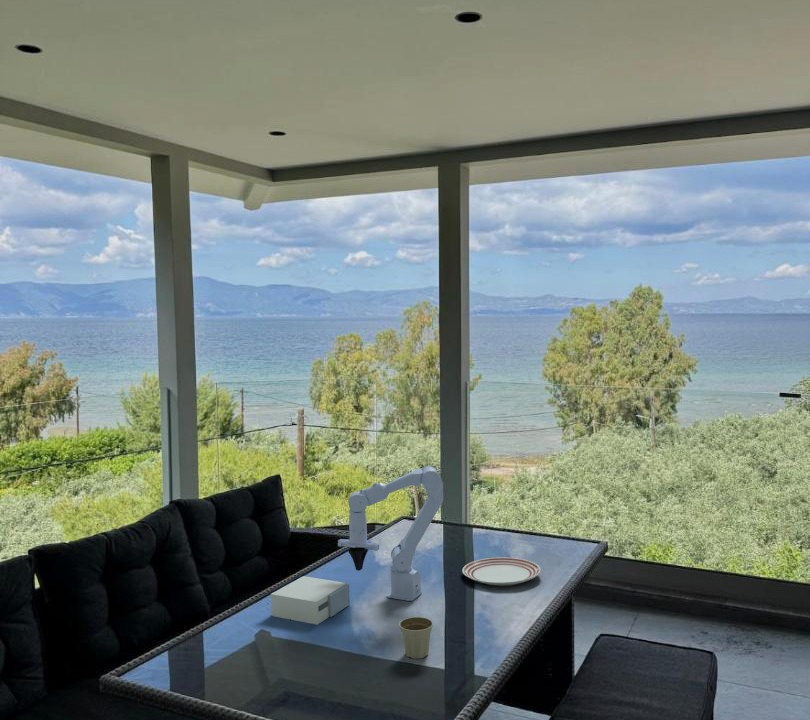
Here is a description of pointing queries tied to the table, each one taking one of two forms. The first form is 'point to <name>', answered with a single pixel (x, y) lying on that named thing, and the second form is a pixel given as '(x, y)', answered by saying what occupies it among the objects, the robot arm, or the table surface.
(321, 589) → the player box
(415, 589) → the robot arm
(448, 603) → the table surface
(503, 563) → the dinner plate
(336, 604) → the sliding drawer
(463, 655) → the table surface
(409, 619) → the flower pot
